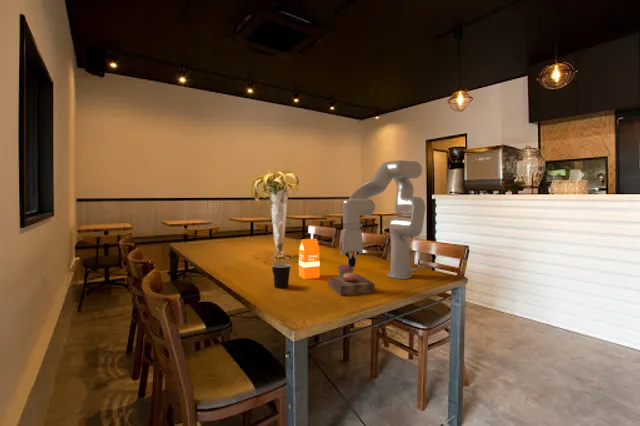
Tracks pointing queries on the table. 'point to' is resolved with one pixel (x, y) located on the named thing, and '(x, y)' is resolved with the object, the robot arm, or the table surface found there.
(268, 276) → the table surface
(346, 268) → the cupcake
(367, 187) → the robot arm
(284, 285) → the coffee mug
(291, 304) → the table surface
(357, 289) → the brown wooden tray
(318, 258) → the orange juice
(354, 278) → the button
